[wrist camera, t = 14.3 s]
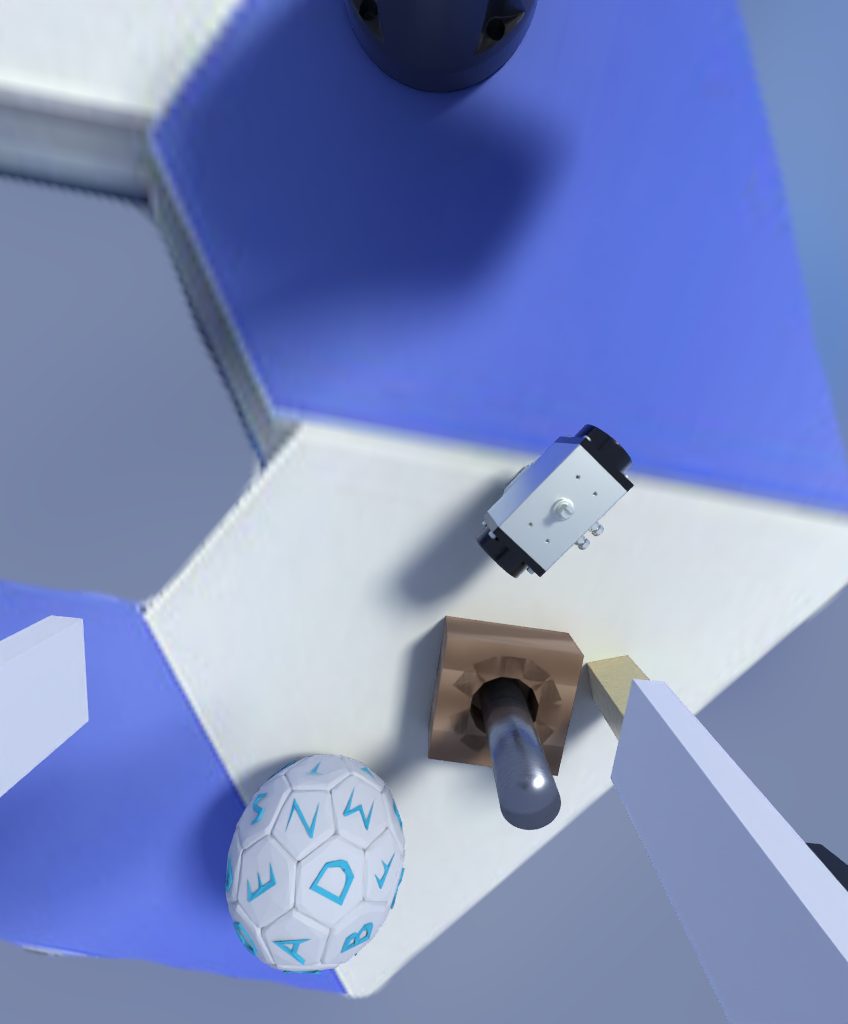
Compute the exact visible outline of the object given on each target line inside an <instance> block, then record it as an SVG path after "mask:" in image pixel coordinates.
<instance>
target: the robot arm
mask: <svg viewBox="0 0 848 1024" xmlns="http://www.w3.org/2000/svg"><path fill="white" fill-rule="evenodd" d="M536 4H537V0H345V5H346V10H347V13H348V17H349V20H350V23H351V25H352V28H353V30H354V32H355V34H356V36H357V38H358V40H359V42H360V44H361V45H362V47H363V48H364V50H365V51H366V53H367V54H368V55H369V57H370V58H371V59H372V60H373V61H374V62H375V63H376V64H377V65H378V66H379V67H380V68H381V69H382V70H383V71H384V72H386V73H387V74H388V75H390V76H391V77H392V78H394V79H396V80H397V81H399V82H401V83H403V84H405V85H408V86H410V87H413V88H416V89H420V90H425V91H432V92H447V91H455V90H459V89H463V88H466V87H469V86H472V85H474V84H476V83H478V82H480V81H482V80H484V79H485V78H487V77H489V76H490V75H491V74H493V73H494V72H495V71H497V70H498V69H499V68H500V67H501V66H502V65H503V64H504V63H505V62H506V61H507V60H508V59H509V58H510V57H511V56H512V54H513V53H514V52H515V50H516V49H517V48H518V46H519V45H520V43H521V41H522V40H523V38H524V36H525V34H526V32H527V30H528V28H529V26H530V23H531V21H532V18H533V15H534V12H535V8H536ZM86 722H88V703H87V685H86V667H85V649H84V632H83V619H79V618H70V617H61V616H52V615H51V616H49V617H47V618H45V619H43V620H41V621H39V622H37V623H35V624H33V625H31V626H29V627H27V628H25V629H23V630H21V631H19V632H17V633H15V634H13V635H11V636H9V637H7V638H5V639H4V640H2V641H0V797H1V796H2V795H3V794H4V793H6V792H7V791H8V790H9V789H10V788H11V787H13V786H14V785H15V784H16V783H17V782H18V781H19V780H21V779H22V778H23V777H24V776H25V775H26V774H28V773H29V772H30V771H31V770H32V769H33V768H34V767H36V766H37V765H38V764H39V763H40V762H41V761H43V760H44V759H45V758H46V757H47V756H48V755H49V754H51V753H52V752H53V751H54V750H55V749H56V748H58V747H59V746H60V745H61V744H62V743H63V742H64V741H66V740H67V739H68V738H69V737H70V736H71V735H73V734H74V733H75V732H76V731H77V730H78V729H79V728H81V727H82V726H83V725H84V724H85V723H86ZM611 780H612V782H613V784H614V786H615V788H616V790H617V792H618V794H619V796H620V798H621V800H622V802H623V804H624V807H625V809H626V810H627V812H628V814H629V817H630V819H631V821H632V823H633V825H634V827H635V829H636V831H637V833H638V835H639V837H640V839H641V841H642V843H643V846H644V847H645V849H646V852H647V853H648V856H649V858H650V860H651V862H652V864H653V866H654V868H655V870H656V872H657V874H658V876H659V878H660V880H661V882H662V885H663V886H664V888H665V891H666V893H667V895H668V897H669V899H670V901H671V903H672V905H673V907H674V909H675V911H676V913H677V915H678V917H679V919H680V921H681V924H682V926H683V928H684V930H685V932H686V934H687V936H688V938H689V940H690V942H691V944H692V946H693V948H694V950H695V952H696V954H697V956H698V958H699V960H700V962H701V965H702V967H703V969H704V970H705V972H706V975H707V977H708V979H709V981H710V983H711V985H712V987H713V989H714V991H715V993H716V995H717V997H718V999H719V1001H720V1004H721V1005H722V1008H723V1010H724V1012H725V1014H726V1016H727V1018H728V1020H729V1022H730V1024H848V865H846V864H845V863H844V862H843V861H842V860H840V859H839V858H838V857H837V856H835V855H834V854H833V853H831V852H830V851H829V850H828V849H826V848H825V847H824V846H822V845H821V844H813V843H805V842H804V841H803V840H802V839H801V838H800V837H799V835H798V834H797V833H796V832H795V831H794V830H793V829H792V827H791V826H790V825H789V824H788V823H787V822H786V821H785V820H784V818H783V817H782V816H781V815H780V814H779V813H778V811H777V810H776V809H775V808H774V807H773V806H772V804H771V803H770V802H769V801H768V800H767V799H766V798H765V796H764V795H763V794H762V793H761V792H760V791H759V790H758V788H757V787H756V786H755V785H754V784H753V783H752V782H751V780H750V779H749V778H748V777H747V776H746V775H745V774H744V772H743V771H742V770H741V769H740V768H739V767H738V766H737V764H736V763H735V762H734V761H733V760H732V759H731V758H730V756H729V755H728V754H727V753H726V752H725V751H724V750H723V748H722V747H721V746H720V745H719V744H718V743H717V742H716V740H715V739H714V738H713V737H712V736H711V735H710V733H709V732H708V731H707V730H706V729H705V728H704V727H703V725H702V724H701V723H700V722H699V721H698V720H697V719H696V718H695V716H694V715H693V714H692V713H691V712H690V710H689V709H688V708H687V707H686V706H685V705H684V704H683V702H682V701H681V700H680V699H679V698H678V697H677V696H676V694H675V693H674V692H673V691H672V690H671V689H670V688H669V686H668V685H667V684H666V683H665V682H660V681H650V680H641V679H632V683H631V688H630V692H629V697H628V701H627V706H626V710H625V715H624V719H623V724H622V728H621V733H620V737H619V742H618V746H617V751H616V756H615V760H614V765H613V769H612V774H611Z"/></svg>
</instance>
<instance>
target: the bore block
mask: <svg viewBox="0 0 848 1024" xmlns="http://www.w3.org/2000/svg"><path fill="white" fill-rule="evenodd" d="M583 658H584V655H583V654H582V652H581V651H580V649H579V648H578V646H577V645H576V643H575V642H574V641H573V639H572V638H571V636H570V635H569V633H565V632H557V631H550V630H543V629H536V628H528V627H521V626H514V625H507V624H500V623H492V622H485V621H478V620H471V619H463V618H456V617H449V616H446V619H445V625H444V631H443V638H442V644H441V650H440V657H439V663H438V669H437V676H436V682H435V688H434V695H433V701H432V707H431V714H430V720H429V726H428V758H429V759H436V760H444V761H451V762H459V763H466V764H473V765H481V766H488V767H493V766H492V761H491V756H490V750H489V745H488V740H487V735H486V729H485V724H484V719H483V714H482V709H481V703H480V698H479V693H478V689H479V688H480V686H481V685H482V684H483V683H484V682H487V681H490V680H493V679H495V678H498V677H508V678H516V679H518V682H519V685H520V688H521V690H522V693H523V696H524V699H525V701H526V704H527V707H528V710H529V712H530V715H531V718H532V721H533V723H534V726H535V729H536V732H537V734H538V737H539V740H540V743H541V745H542V748H543V751H544V754H545V756H546V759H547V762H548V765H549V767H550V770H551V773H552V775H555V776H558V772H559V767H560V763H561V758H562V754H563V749H564V745H565V740H566V735H567V731H568V726H569V722H570V717H571V713H572V708H573V704H574V699H575V694H576V690H577V685H578V681H579V676H580V672H581V667H582V662H583Z"/></svg>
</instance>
